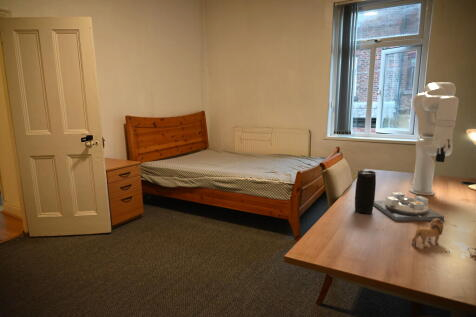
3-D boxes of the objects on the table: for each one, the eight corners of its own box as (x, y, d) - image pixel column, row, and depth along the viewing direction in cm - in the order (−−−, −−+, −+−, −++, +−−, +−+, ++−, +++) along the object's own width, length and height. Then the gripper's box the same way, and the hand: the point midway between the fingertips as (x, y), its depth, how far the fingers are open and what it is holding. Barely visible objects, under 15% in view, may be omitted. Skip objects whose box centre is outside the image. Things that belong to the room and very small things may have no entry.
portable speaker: (370, 208, 150) (373, 170, 146) (375, 215, 141) (379, 174, 137) (351, 207, 151) (355, 169, 147) (356, 214, 142) (359, 173, 138)
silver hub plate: (411, 201, 155) (412, 191, 154) (437, 214, 137) (438, 203, 136) (377, 201, 153) (378, 192, 152) (399, 215, 136) (400, 204, 135)
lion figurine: (430, 237, 119) (433, 215, 118) (445, 242, 115) (448, 220, 113) (407, 245, 112) (410, 222, 111) (422, 251, 108) (425, 227, 106)
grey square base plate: (372, 204, 156) (372, 200, 156) (413, 204, 157) (414, 200, 157) (395, 221, 135) (396, 216, 134) (443, 220, 135) (444, 216, 135)
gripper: (430, 121, 150) (425, 157, 155) (443, 125, 136) (437, 165, 140) (447, 121, 149) (442, 158, 153) (462, 125, 135) (455, 165, 139)
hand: (439, 161), depth 147 cm, fingers closed
